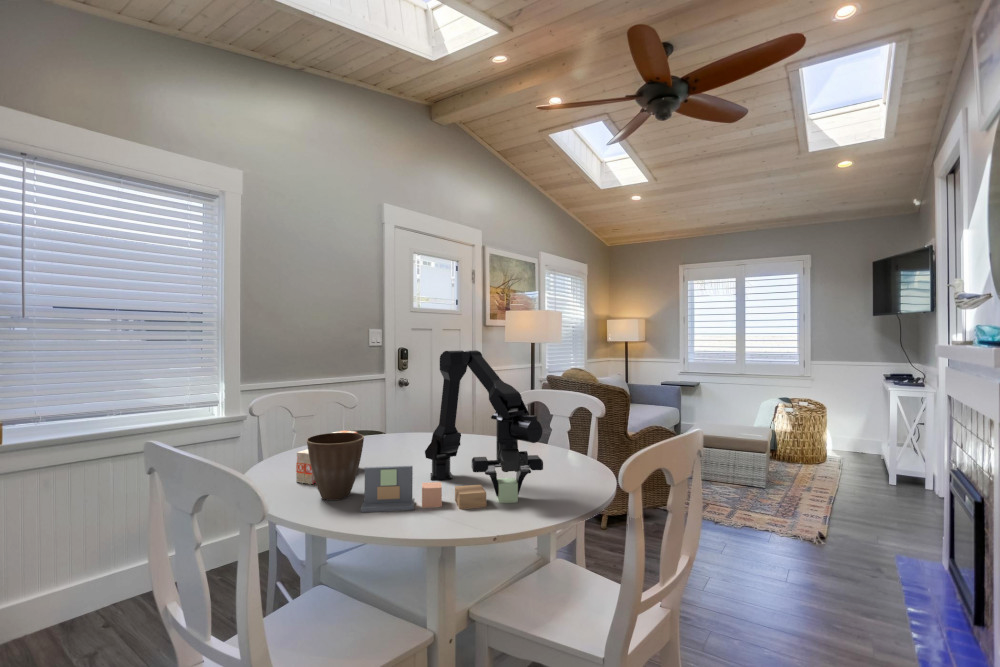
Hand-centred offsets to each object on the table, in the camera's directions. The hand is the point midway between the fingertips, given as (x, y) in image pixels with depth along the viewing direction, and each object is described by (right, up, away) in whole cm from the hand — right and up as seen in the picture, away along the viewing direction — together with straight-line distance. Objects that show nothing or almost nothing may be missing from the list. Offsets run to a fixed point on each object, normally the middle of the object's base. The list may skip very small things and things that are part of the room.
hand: (507, 495), depth 136 cm
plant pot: (-47, -1, +3) cm, 47 cm away
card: (-30, -1, -6) cm, 31 cm away
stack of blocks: (-56, -2, +24) cm, 61 cm away
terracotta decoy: (-20, -1, -4) cm, 20 cm away
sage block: (0, -1, 0) cm, 1 cm away
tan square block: (-10, -1, -3) cm, 10 cm away
